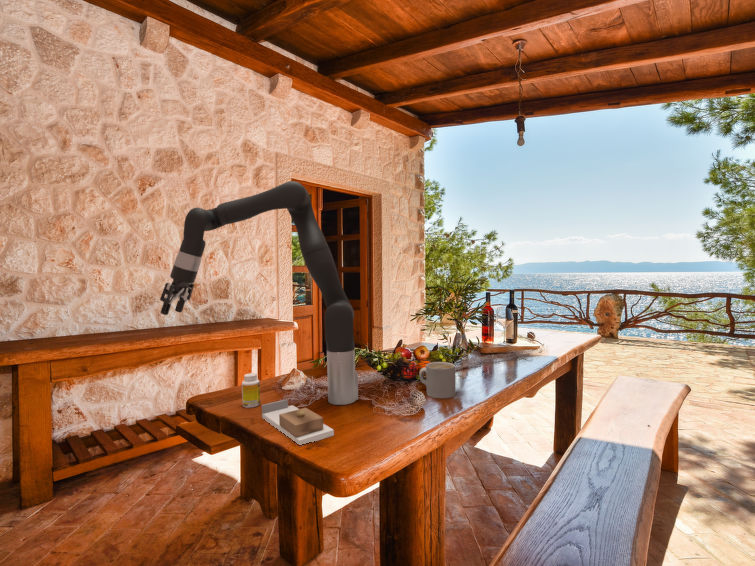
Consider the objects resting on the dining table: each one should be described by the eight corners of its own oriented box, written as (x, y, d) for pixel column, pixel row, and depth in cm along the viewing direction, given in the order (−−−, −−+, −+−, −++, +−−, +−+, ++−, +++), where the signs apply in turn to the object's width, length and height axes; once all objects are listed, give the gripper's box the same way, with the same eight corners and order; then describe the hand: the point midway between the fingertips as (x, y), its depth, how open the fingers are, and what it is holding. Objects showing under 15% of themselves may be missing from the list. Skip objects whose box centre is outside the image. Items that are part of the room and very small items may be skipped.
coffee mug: (461, 393, 136) (461, 365, 136) (442, 400, 130) (442, 370, 130) (432, 385, 147) (432, 359, 146) (413, 391, 140) (413, 363, 140)
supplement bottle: (261, 406, 128) (260, 375, 128) (243, 409, 126) (242, 377, 125) (258, 401, 133) (257, 371, 133) (241, 404, 131) (240, 373, 130)
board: (292, 409, 124) (292, 397, 124) (333, 435, 104) (333, 420, 104) (261, 417, 118) (261, 404, 118) (299, 446, 98) (299, 431, 98)
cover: (305, 418, 113) (305, 404, 113) (323, 428, 105) (322, 413, 105) (279, 425, 108) (279, 410, 108) (295, 437, 100) (295, 421, 100)
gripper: (185, 270, 123) (169, 319, 124) (206, 270, 137) (192, 314, 138) (163, 262, 123) (147, 311, 124) (186, 263, 138) (172, 307, 138)
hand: (171, 312), depth 131 cm, fingers open, 8 cm apart
